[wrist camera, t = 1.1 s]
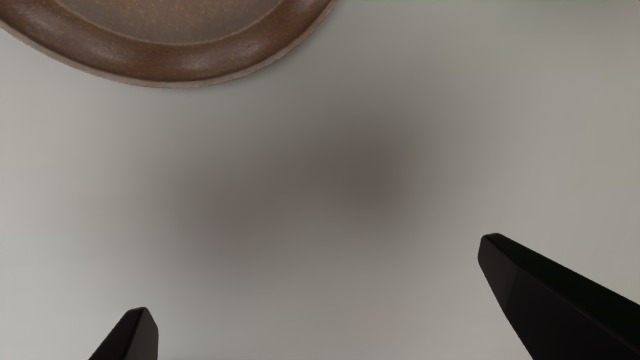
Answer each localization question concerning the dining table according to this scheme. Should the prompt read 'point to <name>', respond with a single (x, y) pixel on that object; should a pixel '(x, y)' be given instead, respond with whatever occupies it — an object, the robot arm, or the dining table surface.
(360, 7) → the dining table surface
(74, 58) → the plant saucer
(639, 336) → the robot arm
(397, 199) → the dining table surface
